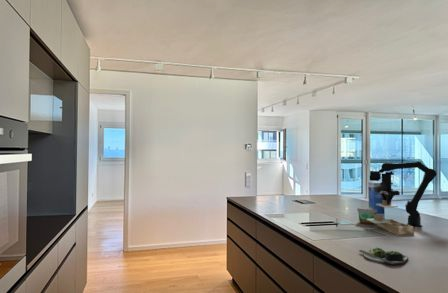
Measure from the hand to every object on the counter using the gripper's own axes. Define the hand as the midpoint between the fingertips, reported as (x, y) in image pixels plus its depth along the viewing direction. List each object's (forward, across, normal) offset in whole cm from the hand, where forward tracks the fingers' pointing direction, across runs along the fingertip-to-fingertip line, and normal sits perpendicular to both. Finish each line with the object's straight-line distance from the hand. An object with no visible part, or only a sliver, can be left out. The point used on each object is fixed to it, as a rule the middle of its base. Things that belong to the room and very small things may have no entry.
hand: (386, 204), depth 206 cm
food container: (+13, +1, -15) cm, 20 cm away
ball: (+11, +22, -6) cm, 25 cm away
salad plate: (+13, +65, -44) cm, 79 cm away
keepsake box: (+13, +19, -8) cm, 24 cm away
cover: (+8, +14, -15) cm, 22 cm away
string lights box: (+13, -20, +5) cm, 24 cm away
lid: (+1, 0, 0) cm, 1 cm away
